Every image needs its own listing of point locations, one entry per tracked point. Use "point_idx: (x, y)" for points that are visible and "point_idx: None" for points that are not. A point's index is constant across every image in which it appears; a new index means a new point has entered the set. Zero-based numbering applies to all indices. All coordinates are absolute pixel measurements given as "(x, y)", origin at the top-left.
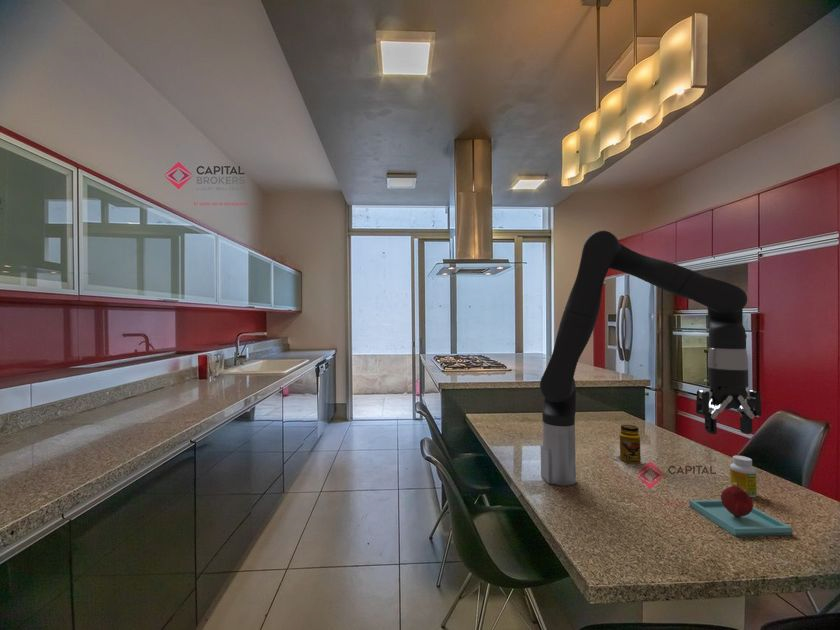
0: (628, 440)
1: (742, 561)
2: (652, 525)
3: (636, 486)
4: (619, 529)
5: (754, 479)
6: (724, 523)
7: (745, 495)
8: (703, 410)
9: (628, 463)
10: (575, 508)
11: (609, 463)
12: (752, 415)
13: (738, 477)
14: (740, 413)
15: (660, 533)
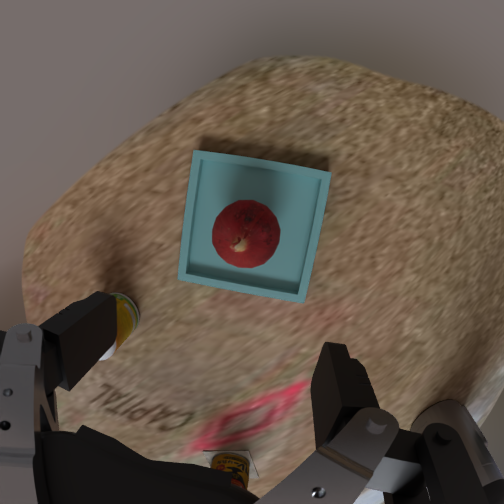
0: None
1: (396, 112)
2: (445, 250)
3: None
4: (496, 253)
5: None
6: (325, 201)
7: (241, 214)
8: (468, 457)
9: (245, 458)
10: (498, 327)
11: (283, 464)
12: (18, 332)
13: (119, 326)
14: (55, 402)
15: (454, 223)
